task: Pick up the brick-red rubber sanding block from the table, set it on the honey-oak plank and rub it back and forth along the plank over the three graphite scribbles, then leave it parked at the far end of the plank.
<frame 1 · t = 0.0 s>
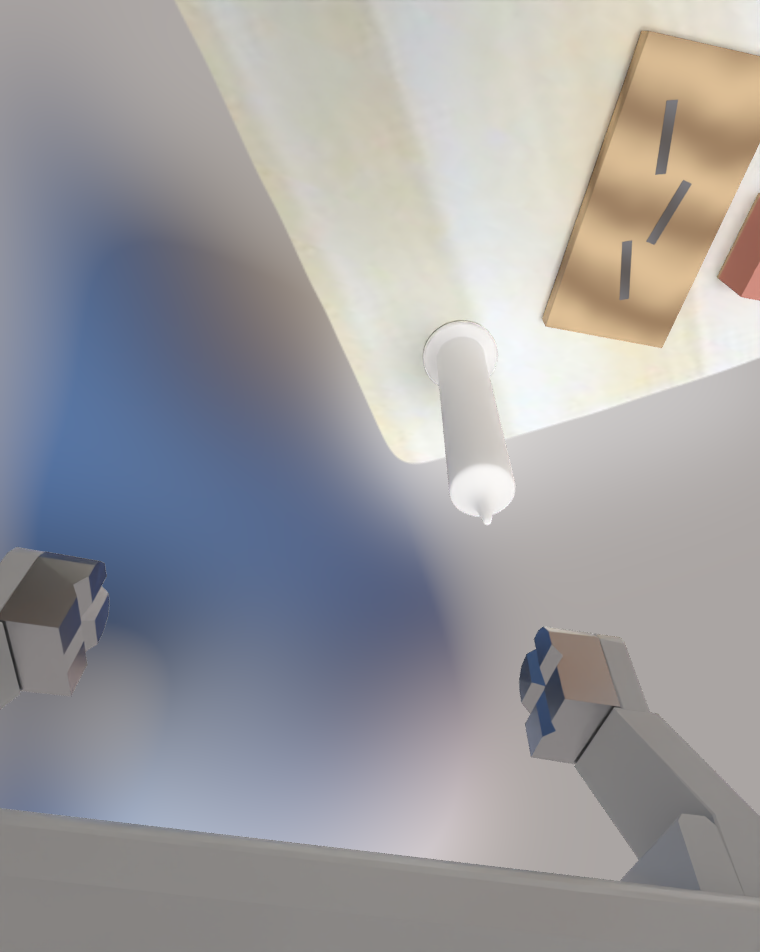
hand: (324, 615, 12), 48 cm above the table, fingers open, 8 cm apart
plank: (649, 205, 52), on the table
candle: (459, 354, 61), on the table
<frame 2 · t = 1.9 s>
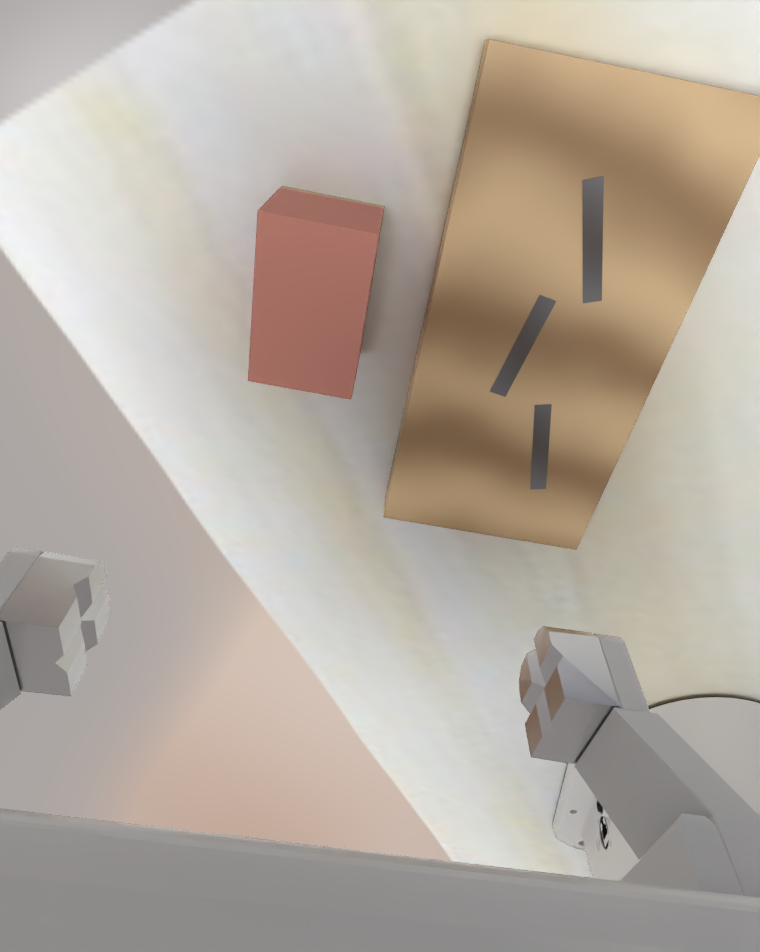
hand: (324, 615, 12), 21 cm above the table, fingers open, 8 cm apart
plank: (536, 337, 30), on the table
sanding block: (324, 275, 29), on the table
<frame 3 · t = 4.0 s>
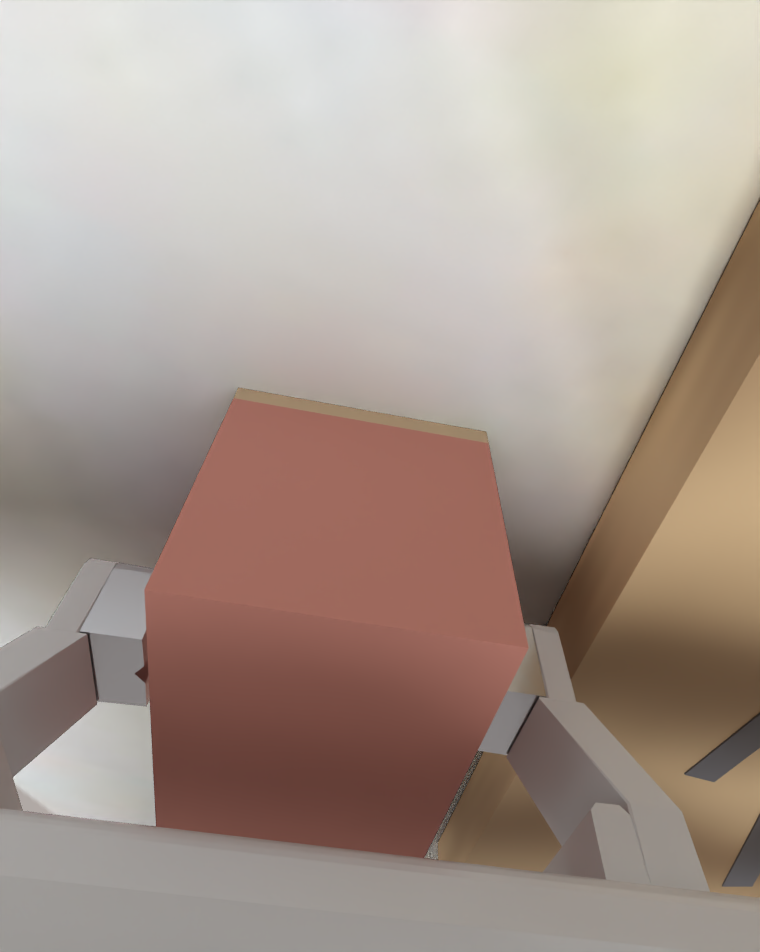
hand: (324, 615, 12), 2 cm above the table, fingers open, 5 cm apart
sanding block: (336, 548, 13), on the table
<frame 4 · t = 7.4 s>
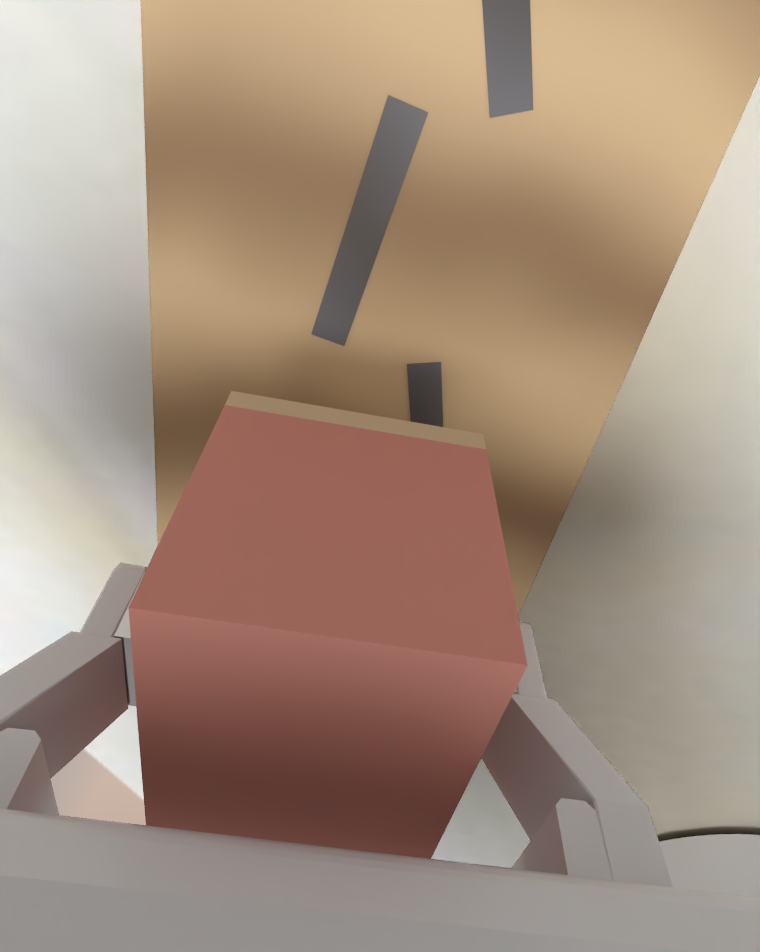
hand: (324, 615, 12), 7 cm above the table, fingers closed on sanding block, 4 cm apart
plank: (411, 222, 15), on the table
sanding block: (332, 556, 13), point 6 cm above the table, touching gripper
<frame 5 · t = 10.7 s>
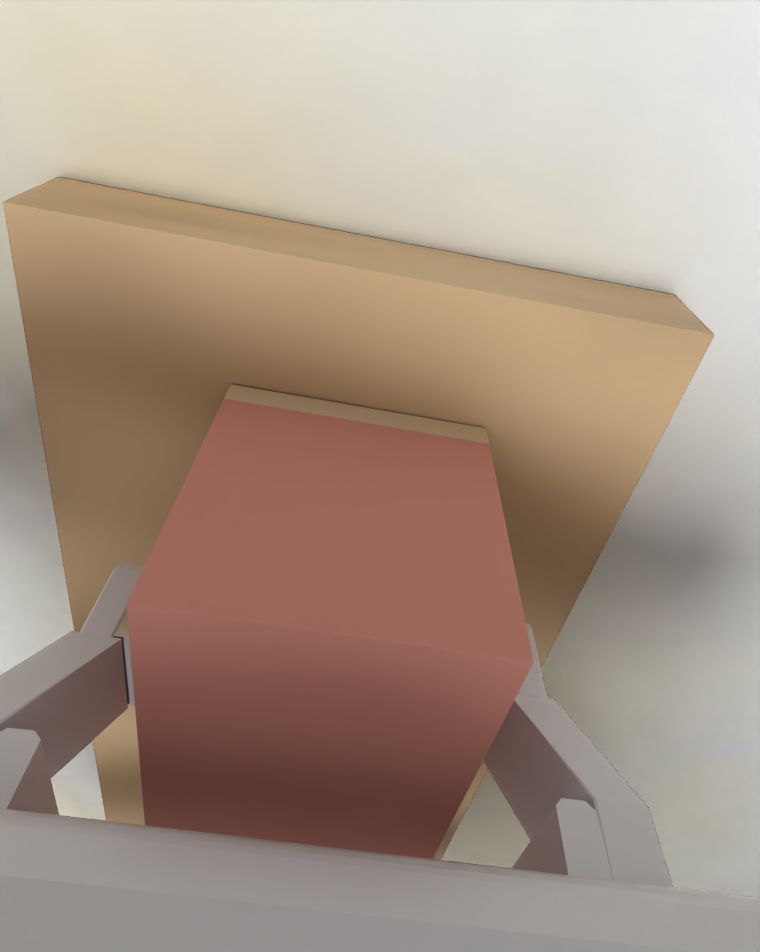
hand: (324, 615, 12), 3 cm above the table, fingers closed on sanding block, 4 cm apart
plank: (310, 640, 17), on the table
sanding block: (333, 552, 13), point 2 cm above the table, touching gripper
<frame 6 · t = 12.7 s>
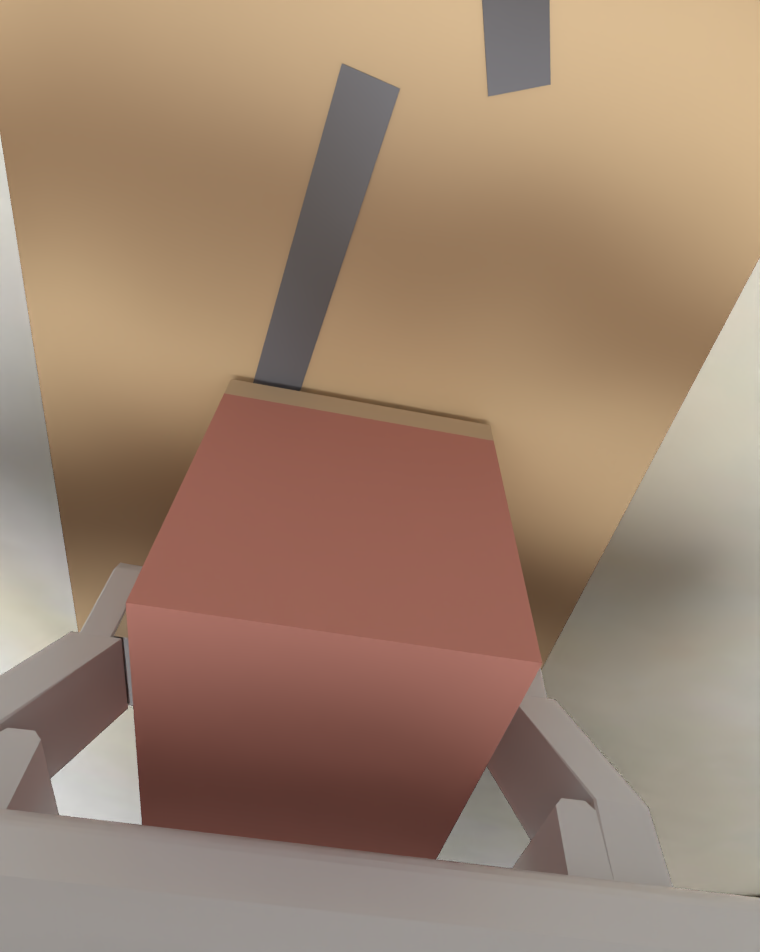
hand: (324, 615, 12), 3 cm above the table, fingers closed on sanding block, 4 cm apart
plank: (383, 238, 11), on the table
sanding block: (333, 550, 13), point 2 cm above the table, touching gripper
when the fingers open (3 cm above the table, at t = 15.4 s): sanding block stays where it is, resting on plank.
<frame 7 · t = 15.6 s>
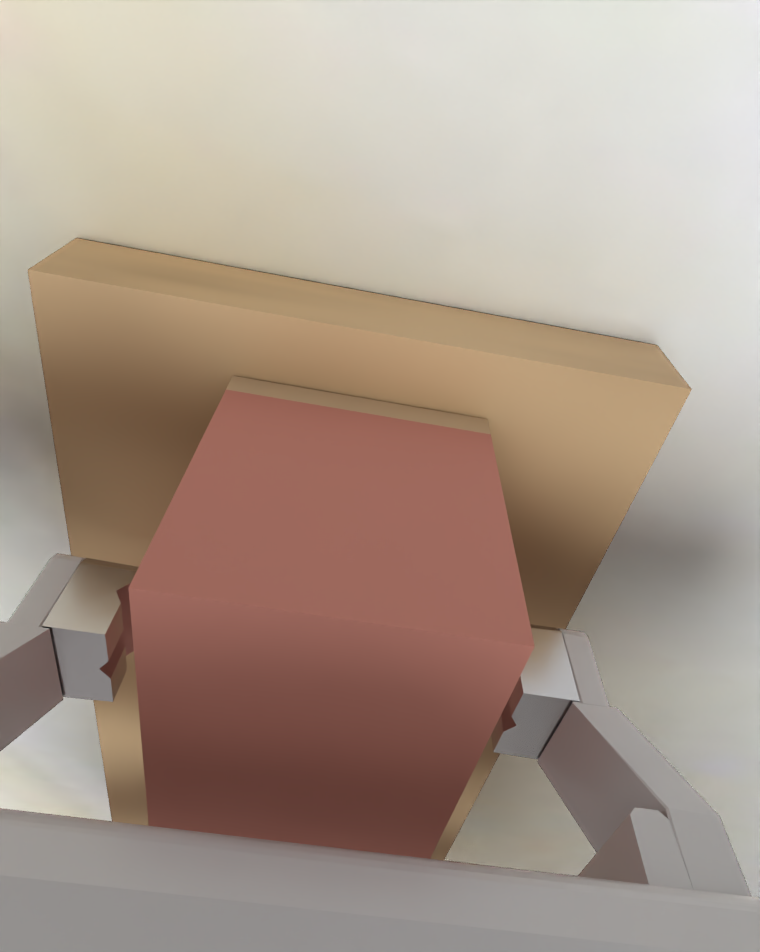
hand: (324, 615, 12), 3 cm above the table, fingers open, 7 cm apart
plank: (311, 661, 18), on the table
sanding block: (335, 545, 13), point 2 cm above the table, touching plank
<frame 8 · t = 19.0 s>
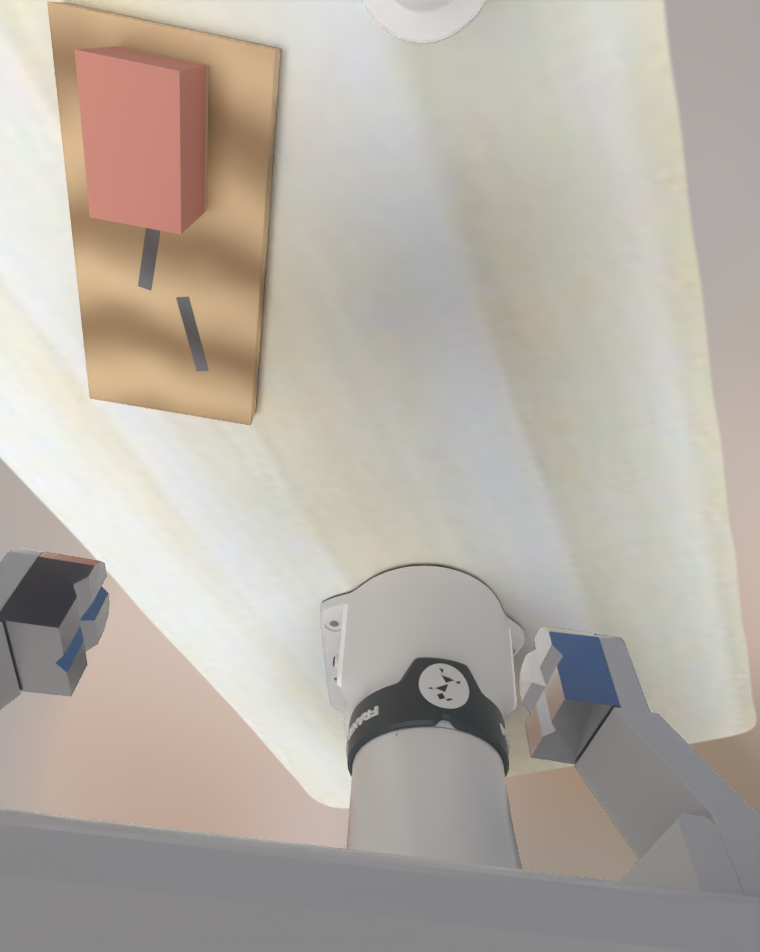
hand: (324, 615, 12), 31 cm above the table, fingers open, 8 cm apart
plank: (176, 243, 39), on the table
sanding block: (165, 133, 33), point 2 cm above the table, touching plank
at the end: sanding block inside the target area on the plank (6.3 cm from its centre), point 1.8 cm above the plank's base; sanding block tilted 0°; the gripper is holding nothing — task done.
